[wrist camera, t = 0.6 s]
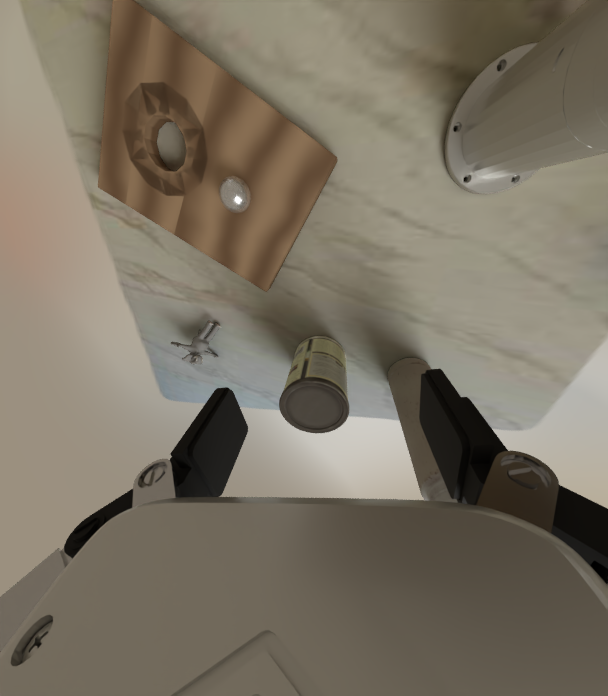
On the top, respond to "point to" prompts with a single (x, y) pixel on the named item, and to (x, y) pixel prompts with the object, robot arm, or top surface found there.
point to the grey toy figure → (199, 344)
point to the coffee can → (316, 387)
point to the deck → (203, 149)
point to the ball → (234, 194)
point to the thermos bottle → (416, 427)
